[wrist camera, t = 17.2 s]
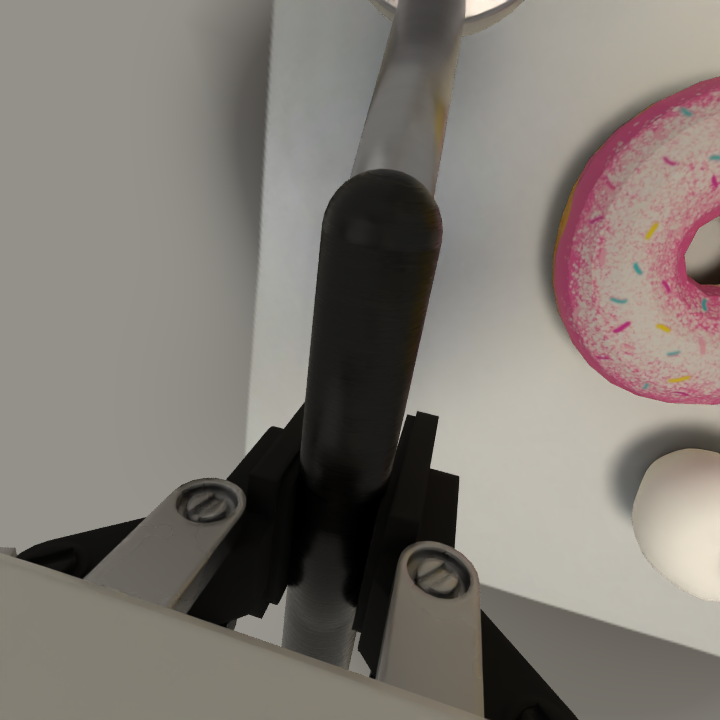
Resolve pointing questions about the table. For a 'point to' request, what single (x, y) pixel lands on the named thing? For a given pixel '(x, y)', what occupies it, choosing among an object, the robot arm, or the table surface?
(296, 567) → the ladle
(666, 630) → the table surface
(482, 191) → the table surface
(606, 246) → the donut
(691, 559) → the apple
